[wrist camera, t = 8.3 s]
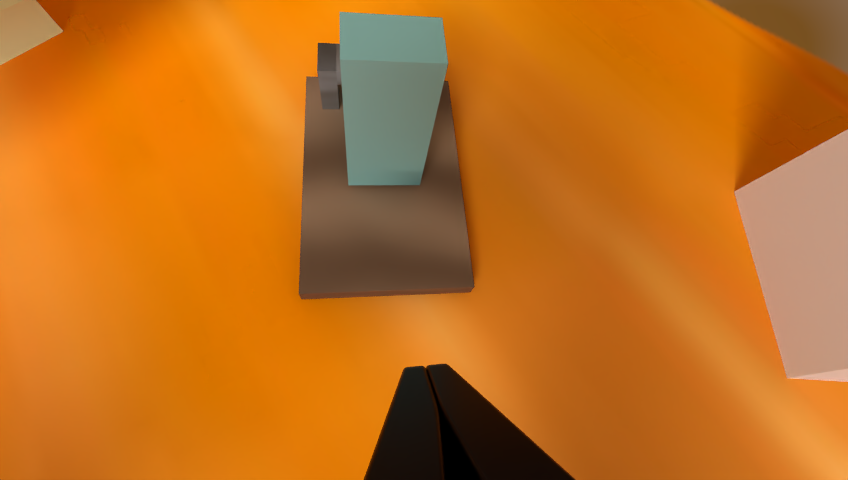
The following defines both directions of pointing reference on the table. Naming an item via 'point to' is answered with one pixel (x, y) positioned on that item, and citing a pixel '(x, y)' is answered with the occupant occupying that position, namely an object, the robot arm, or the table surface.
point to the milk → (804, 257)
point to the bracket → (377, 209)
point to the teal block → (390, 94)
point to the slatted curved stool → (23, 27)
